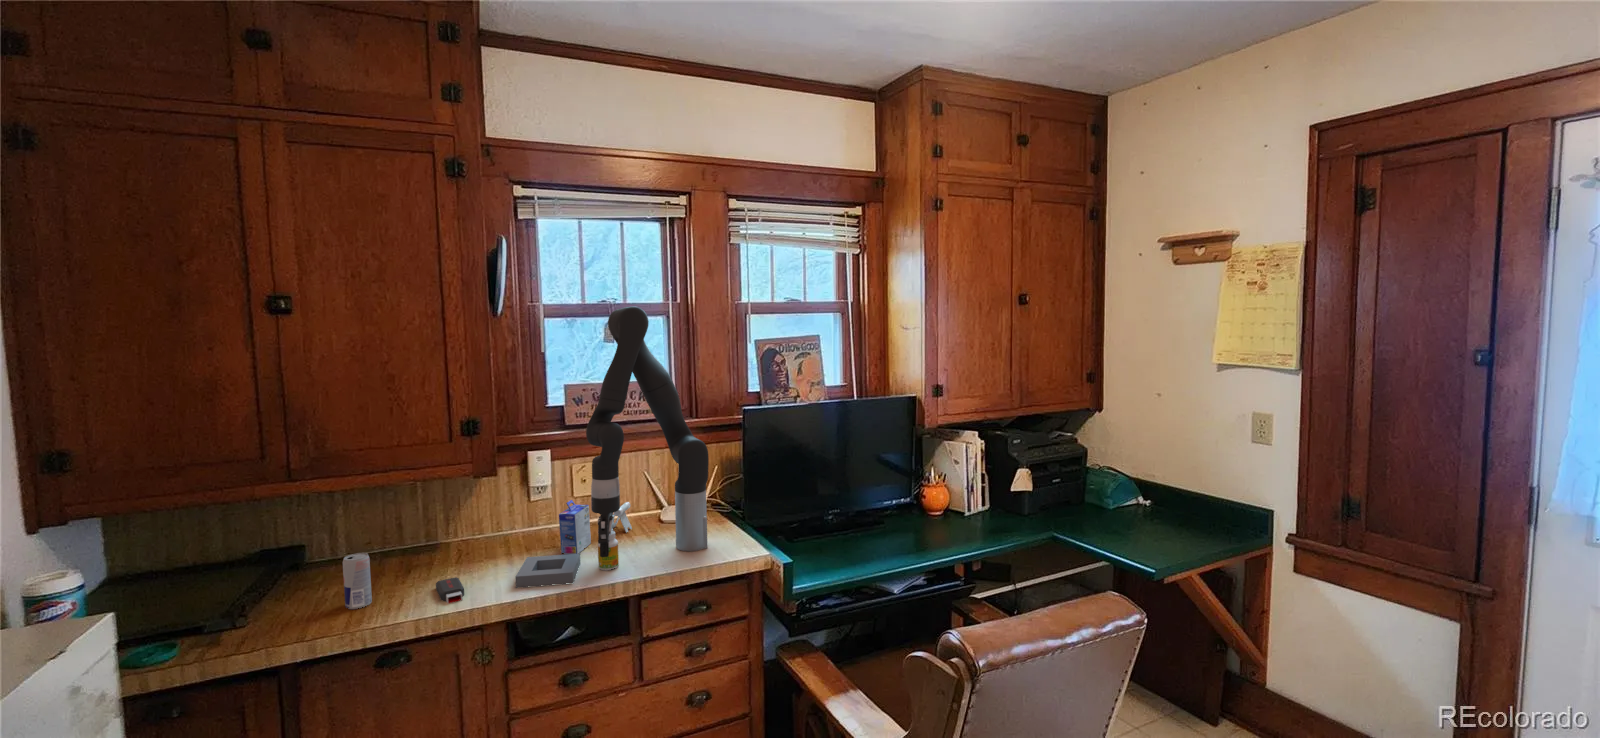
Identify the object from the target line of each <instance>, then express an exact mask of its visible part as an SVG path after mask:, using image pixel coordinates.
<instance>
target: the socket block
mask: <svg viewBox="0 0 1600 738" xmlns="http://www.w3.org/2000/svg"><path fill="white" fill-rule="evenodd" d="M579 566H580V567H581V553H579V554H553V555H540V556H537V555H536V556H527V557H526V558H525V560H524V562H523V564H522V565H521V567H520V568H519V570H518V572H517V573H516V575H515V589H519V588H518V587H523V588H529V587H528V586H536V587H542V586H541V585H549V586H553V585H552V584H562V585H567V584H566V583H573V582H574V583H575V580H574V579H576V577H577V575H576V574H578V572H577V571H579V569H580V567H579ZM578 568H579V569H578ZM574 583H573V584H574Z"/></svg>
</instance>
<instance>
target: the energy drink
mask: <svg viewBox="0 0 1600 738" xmlns="http://www.w3.org/2000/svg"><path fill="white" fill-rule="evenodd" d="M370 562H371V560H370V556H369V553H367V552H357V553H353V554H349V555H346V556H344V557H343V560H342V573H343V575H342V576H343V588H344V589H343V590H344V593H343V594H344V604H345V605H344V607H345V608H346V609H347V608H348V610H359V609H363V608H365V606H366V607H368V606H370V604H372V602H373V600H372V599H373V597H372V595H373V594H372V581H371V580H372V579H371V578H372V577H371V564H370ZM367 605H368V606H367ZM362 607H363V608H362ZM358 608H359V609H358Z"/></svg>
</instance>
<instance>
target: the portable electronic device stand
mask: <svg viewBox="0 0 1600 738" xmlns="http://www.w3.org/2000/svg"><path fill="white" fill-rule="evenodd" d="M630 508H631V503H630V502H629V501H625V502H624V503H623V504H622V505H620V509H619V510H618V511H616V512H614V513H613V516H614V518H615V517H617V518H616V520H615V521H614V527H613V529H614V528H616V526H617V524H618V522H619V520H620V522H621V525H622V527H623V529H624V531H625V534H628V533H629V530H630V529H631V530H632V529H633V527H632V524H631V523H630V520H629V518H628V516H627V513H626V511H627V510H629V509H630ZM627 532H628V533H627Z"/></svg>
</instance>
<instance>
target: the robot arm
mask: <svg viewBox="0 0 1600 738" xmlns="http://www.w3.org/2000/svg"><path fill="white" fill-rule="evenodd" d="M649 325H650V324H649V317H648V314H647V313H646V312H645V310H644V309H642V308H641V307H639V306H634V305H633V306H627V307H621V308H617V309H615V310H613V311H612V312H611V313H610V314H609V316H608V319H607V327H608V330H609V334H610V335H611V336H612V338H613V340H614V341H615V343H616V344H617V346H616V350H615V352H614V356H613V358H612V360H611V363H610V365H609V367H608V369H607V372H606V373H605V376H604V379H603V381H602V383H601V389H600V393H599V398H598V403H597V405H596V407H595V408H594V411H593V412H592V414H591V417H590V419H589V421H588V423H587V425H586V431H585V436H586V440H587V441H588V443H589V444H590V445H592V446H595V447H598V448H599V447H601V450H600V451H601V452H600V455H596V456H595V457H593V459H592V461H591V486H590V487H591V488H590V490H591V492H590V493H591V494H590V495H591V496H590V497H591V500H590V501H591V504H590V506H591V512H592V513H594V514H599V515H598V518H597V537H598V538H597V539H598V540H597V545H598V544H600V557H608V556H609V536H610V535H611V531H614V528H615V527H614V523H615V517H614V516H613V514H614V512H616V511H618V510H619V509H620V506H621V497H620V496H621V491H620V487H621V486H620V485H621V484H620V479H619V478H620V477H619V474H620V473H619V469H620V468H619V461H620V458H621V455H622V451H623V446H624V442H625V434H624V433H625V432H624V430H623V427H622V426H621V425H620V424H618V423H617V422H613V421H612V420H613V418H614V416H615V415H619V414H622V412H623V411H624V409H625V406H626V400H627V395H628V393H629V392H628V391H629V386H630V382H631V378H632V374H633V376H634V379H635V380H636V382H637V385H638V387H639V389H640V391H641V393H642V395H643V397H644V400H645V402H646V404H647V406H648V407H649V409H650V411H651V413H652V414H653V416H654V418H655V420H656V421H657V423H658V424H659V426H660V428H661V430H662V433H663V435H664V437H665V441H666V443H667V446H668V449H669V452H670V455H671V457H672V459H673V460H674V462H675V463H676V464H677V466H678V467H677V470H678V473H677V474H678V475H677V479H676V480H675V482H674V504H675V505H674V506H675V507H674V509H675V511H674V512H675V548H676V549H677V550H678V551H682V552H696V551H700V550H704V549H708V516H707V515H708V514H707V483H708V479H709V462H710V461H709V450H708V447H707V445H706V443H705V442H704V441H702V440H701V439H698V438H697V437H696V436H694V434H693V433H692V430H691V429H690V427H689V426H688V424H687V422H686V419H685V417H684V415H683V412H682V405H681V400H680V395H679V393H678V390H677V387H676V386H675V383H674V381H673V379H672V378H671V375H670V373H669V372H668V371H667V369H666V368H665V367H664V366H663V364H662V363H661V362H660V361H659V360H658V359H657V358H656V357H655V355H654V354H653V353H652V352H651V351H650V349H649V347H648V345H647V343H646V341H645V337H646V334H647V332H648V328H649ZM613 527H614V528H613ZM605 535H606V539H602V536H605Z"/></svg>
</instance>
